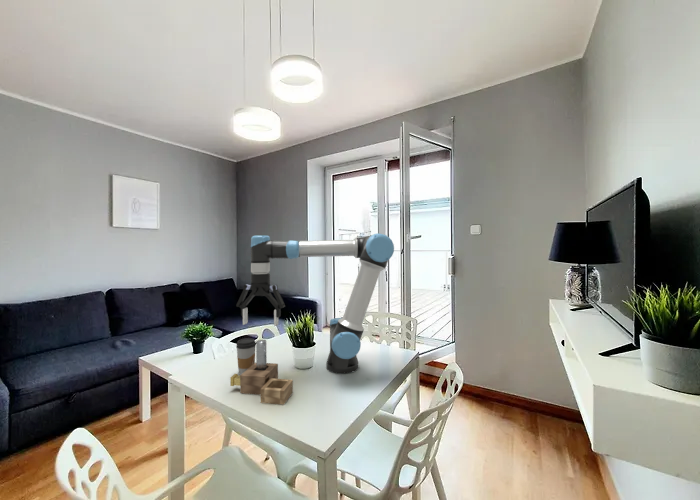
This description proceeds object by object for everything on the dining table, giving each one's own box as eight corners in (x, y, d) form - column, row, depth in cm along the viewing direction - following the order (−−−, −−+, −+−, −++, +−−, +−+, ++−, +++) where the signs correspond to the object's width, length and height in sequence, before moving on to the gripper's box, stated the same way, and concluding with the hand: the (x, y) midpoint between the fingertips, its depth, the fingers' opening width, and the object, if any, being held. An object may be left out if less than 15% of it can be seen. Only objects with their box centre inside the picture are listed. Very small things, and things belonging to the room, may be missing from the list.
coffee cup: (250, 378, 127) (249, 344, 127) (232, 377, 129) (232, 343, 128) (259, 370, 135) (259, 338, 135) (243, 369, 137) (242, 337, 137)
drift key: (265, 384, 117) (265, 375, 117) (262, 388, 114) (261, 379, 114) (235, 382, 119) (235, 373, 119) (230, 385, 116) (230, 377, 116)
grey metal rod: (268, 382, 123) (267, 339, 123) (264, 387, 119) (263, 342, 119) (259, 382, 124) (258, 339, 124) (254, 386, 120) (254, 342, 120)
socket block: (277, 379, 126) (277, 363, 126) (264, 395, 113) (264, 376, 113) (255, 378, 127) (255, 362, 127) (240, 393, 114) (240, 375, 114)
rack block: (292, 392, 115) (292, 379, 115) (284, 404, 106) (284, 390, 106) (270, 390, 116) (270, 378, 116) (260, 402, 107) (260, 389, 107)
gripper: (292, 272, 123) (292, 323, 123) (237, 271, 127) (237, 321, 127) (286, 274, 115) (286, 328, 116) (227, 273, 119) (227, 325, 119)
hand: (260, 324), depth 121 cm, fingers open, 13 cm apart
